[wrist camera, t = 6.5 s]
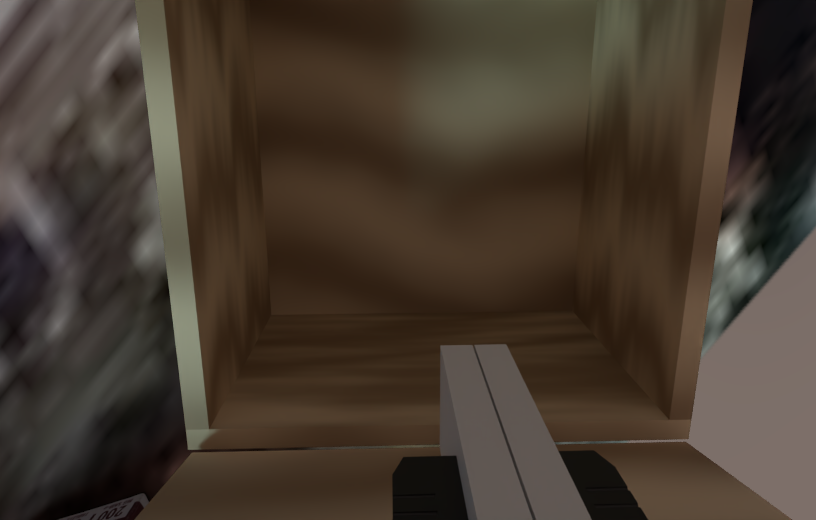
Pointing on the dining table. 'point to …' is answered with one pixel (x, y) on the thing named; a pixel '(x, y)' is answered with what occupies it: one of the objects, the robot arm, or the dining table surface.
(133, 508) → the supplement box
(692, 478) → the lid flap
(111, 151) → the dining table surface
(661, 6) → the wooden box
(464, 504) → the robot arm
